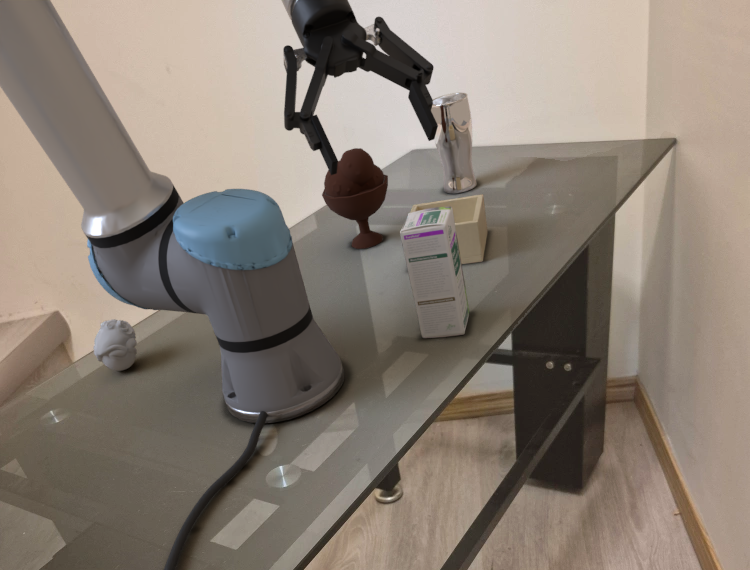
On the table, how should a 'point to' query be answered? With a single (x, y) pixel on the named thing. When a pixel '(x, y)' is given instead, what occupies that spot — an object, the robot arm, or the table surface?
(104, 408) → the table surface
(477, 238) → the basket
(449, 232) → the syrup box
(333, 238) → the table surface
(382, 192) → the ice cream bowl
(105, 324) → the frog figurine
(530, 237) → the table surface
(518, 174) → the table surface
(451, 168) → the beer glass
